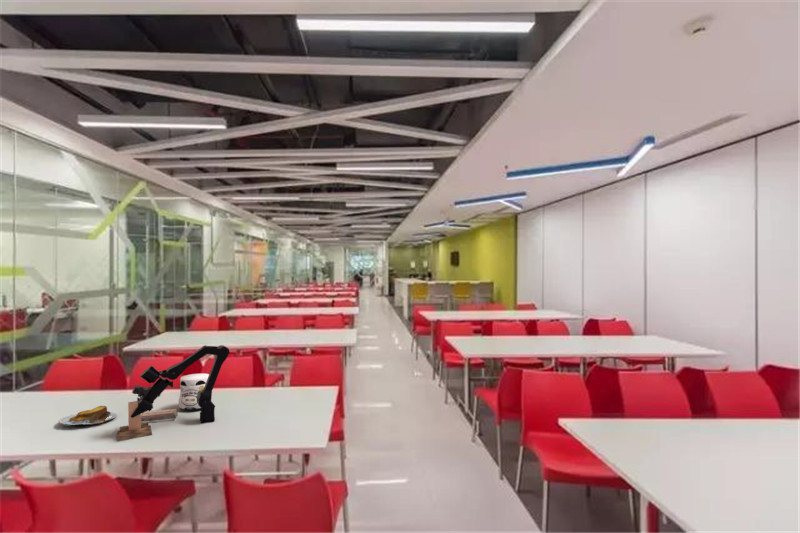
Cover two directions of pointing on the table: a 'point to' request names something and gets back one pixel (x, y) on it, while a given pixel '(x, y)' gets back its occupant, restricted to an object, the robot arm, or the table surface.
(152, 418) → the packaged product
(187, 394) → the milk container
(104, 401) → the table surface
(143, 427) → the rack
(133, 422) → the clay bar
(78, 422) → the food on plate
